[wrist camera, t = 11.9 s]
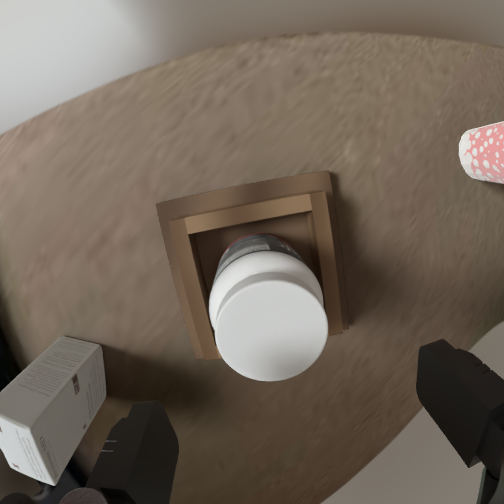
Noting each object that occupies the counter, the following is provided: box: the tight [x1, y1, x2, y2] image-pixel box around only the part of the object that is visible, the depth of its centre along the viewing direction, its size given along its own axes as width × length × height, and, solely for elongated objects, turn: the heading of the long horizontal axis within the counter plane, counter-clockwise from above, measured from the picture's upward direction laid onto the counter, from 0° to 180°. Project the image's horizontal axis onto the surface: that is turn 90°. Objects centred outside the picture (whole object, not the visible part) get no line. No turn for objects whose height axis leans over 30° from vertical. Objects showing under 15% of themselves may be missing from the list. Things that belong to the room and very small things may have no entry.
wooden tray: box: [156, 170, 349, 360], centre depth 22 cm, size 12×12×4 cm
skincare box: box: [0, 336, 106, 486], centre depth 19 cm, size 6×4×12 cm
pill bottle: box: [209, 233, 328, 381], centre depth 18 cm, size 6×6×10 cm
